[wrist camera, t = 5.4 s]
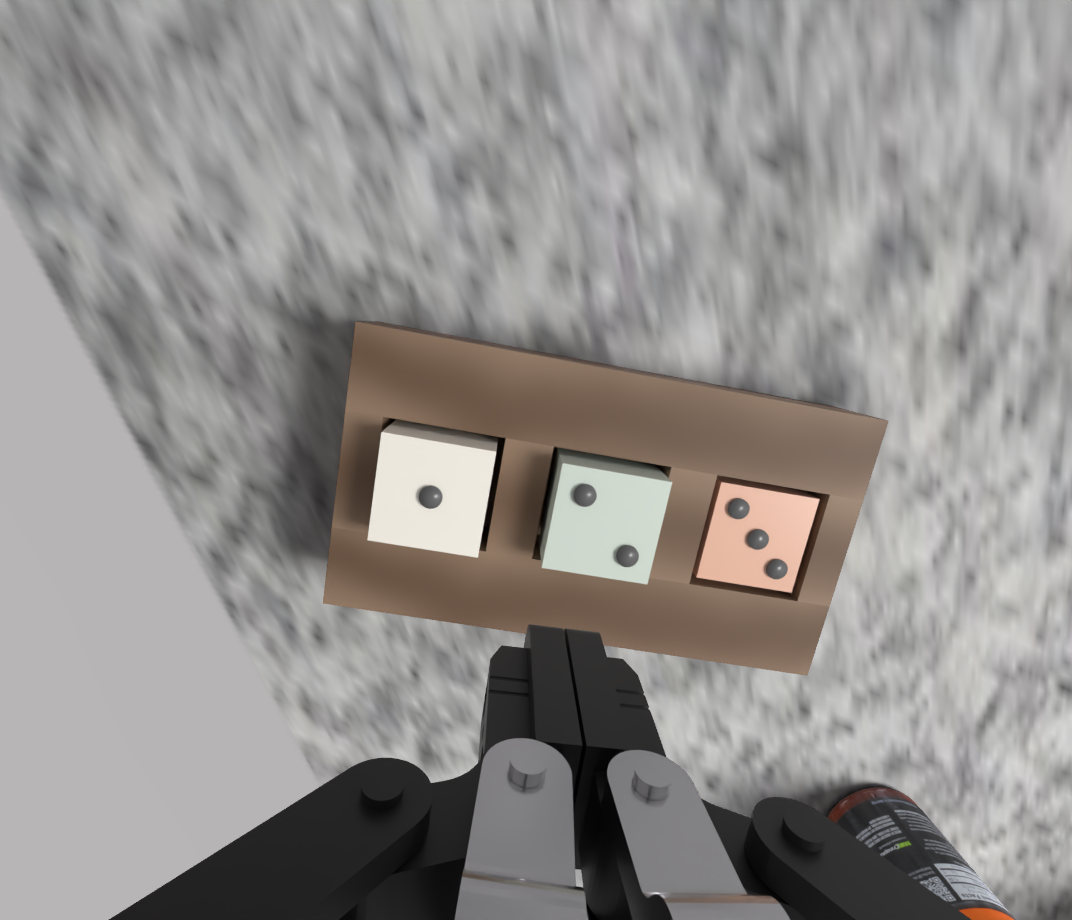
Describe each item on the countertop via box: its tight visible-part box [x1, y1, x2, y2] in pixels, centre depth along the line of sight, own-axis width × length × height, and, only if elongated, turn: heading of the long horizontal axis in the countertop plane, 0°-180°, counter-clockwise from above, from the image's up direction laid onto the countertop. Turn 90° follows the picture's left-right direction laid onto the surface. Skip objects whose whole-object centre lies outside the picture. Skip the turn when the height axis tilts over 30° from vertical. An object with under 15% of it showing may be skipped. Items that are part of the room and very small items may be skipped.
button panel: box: [323, 322, 888, 675], centre depth 27 cm, size 12×22×4 cm, turn 80°
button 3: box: [692, 475, 820, 593], centre depth 27 cm, size 4×4×3 cm
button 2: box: [539, 447, 672, 584], centre depth 25 cm, size 4×4×3 cm
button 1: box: [367, 419, 498, 558], centre depth 24 cm, size 4×4×3 cm
